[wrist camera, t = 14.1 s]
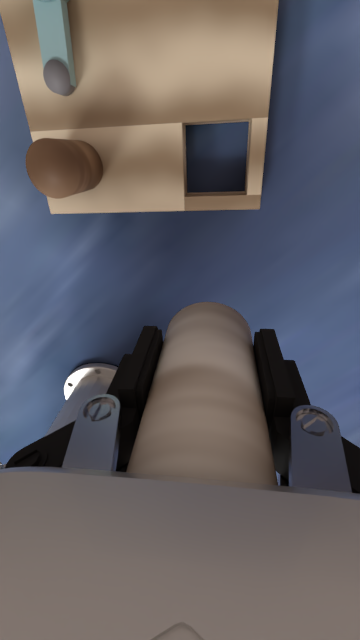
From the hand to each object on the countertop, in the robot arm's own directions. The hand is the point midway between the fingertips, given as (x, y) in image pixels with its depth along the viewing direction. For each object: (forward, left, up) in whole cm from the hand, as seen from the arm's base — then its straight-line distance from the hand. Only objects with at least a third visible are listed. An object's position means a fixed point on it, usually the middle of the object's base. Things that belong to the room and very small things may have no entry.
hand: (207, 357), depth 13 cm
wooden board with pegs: (+13, +6, -21) cm, 26 cm away
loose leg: (0, 0, -1) cm, 1 cm away
